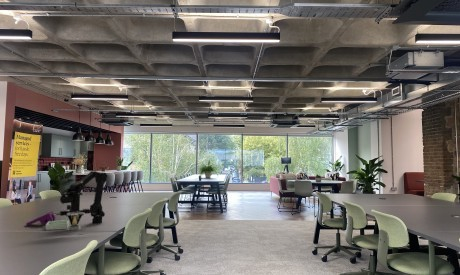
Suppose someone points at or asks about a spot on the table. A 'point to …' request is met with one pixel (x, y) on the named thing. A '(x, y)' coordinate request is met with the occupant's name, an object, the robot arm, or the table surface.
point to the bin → (57, 225)
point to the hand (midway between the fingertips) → (74, 224)
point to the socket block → (74, 227)
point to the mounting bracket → (43, 219)
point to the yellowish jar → (74, 220)
